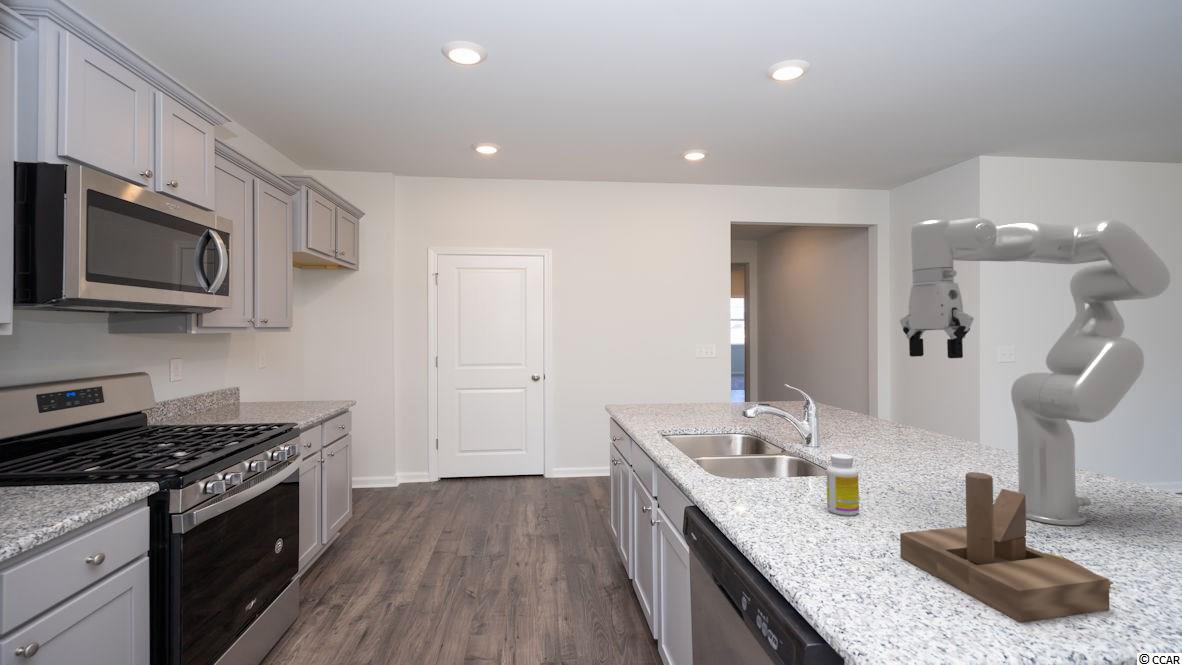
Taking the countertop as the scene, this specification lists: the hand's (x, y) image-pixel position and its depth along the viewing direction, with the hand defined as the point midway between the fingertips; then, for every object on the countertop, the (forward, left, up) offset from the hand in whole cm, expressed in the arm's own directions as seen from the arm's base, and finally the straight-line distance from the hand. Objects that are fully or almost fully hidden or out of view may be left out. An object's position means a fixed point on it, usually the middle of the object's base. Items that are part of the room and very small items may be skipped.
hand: (935, 357), depth 113 cm
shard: (-2, +24, -37) cm, 44 cm away
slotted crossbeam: (+13, +24, -36) cm, 45 cm away
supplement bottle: (+15, -11, -36) cm, 40 cm away
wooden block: (+13, +24, -36) cm, 45 cm away
